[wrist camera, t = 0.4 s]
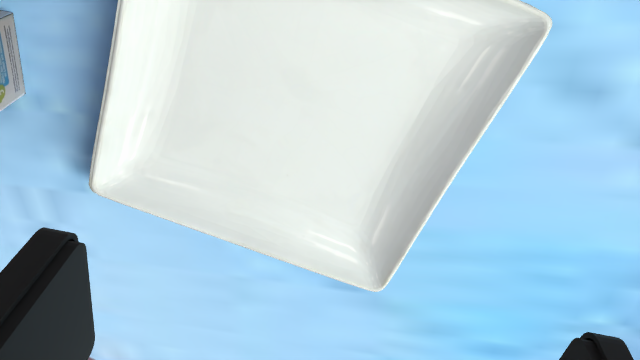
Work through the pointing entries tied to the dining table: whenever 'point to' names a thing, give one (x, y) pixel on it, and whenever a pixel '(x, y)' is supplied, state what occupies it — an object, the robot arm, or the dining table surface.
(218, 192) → the square plate
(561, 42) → the dining table surface
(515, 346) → the dining table surface
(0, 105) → the juice carton
